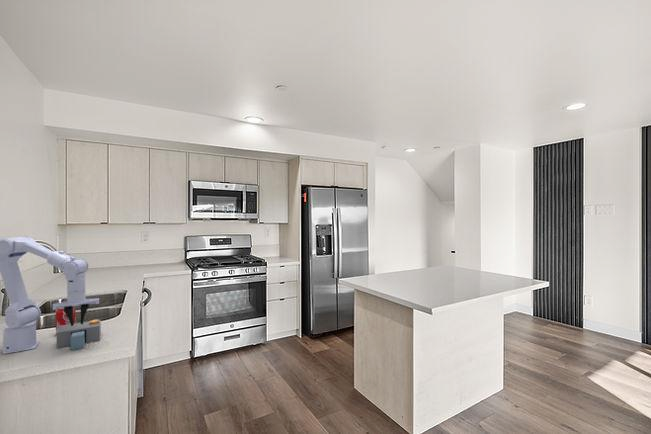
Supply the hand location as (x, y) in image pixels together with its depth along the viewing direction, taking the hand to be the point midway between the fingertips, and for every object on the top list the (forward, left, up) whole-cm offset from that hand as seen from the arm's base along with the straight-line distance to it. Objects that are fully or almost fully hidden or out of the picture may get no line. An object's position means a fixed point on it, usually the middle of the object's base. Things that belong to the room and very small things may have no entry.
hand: (77, 324), depth 130 cm
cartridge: (0, +5, -9) cm, 11 cm away
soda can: (-6, +21, -10) cm, 24 cm away
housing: (0, +8, -9) cm, 13 cm away
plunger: (+5, +9, -7) cm, 12 cm away
